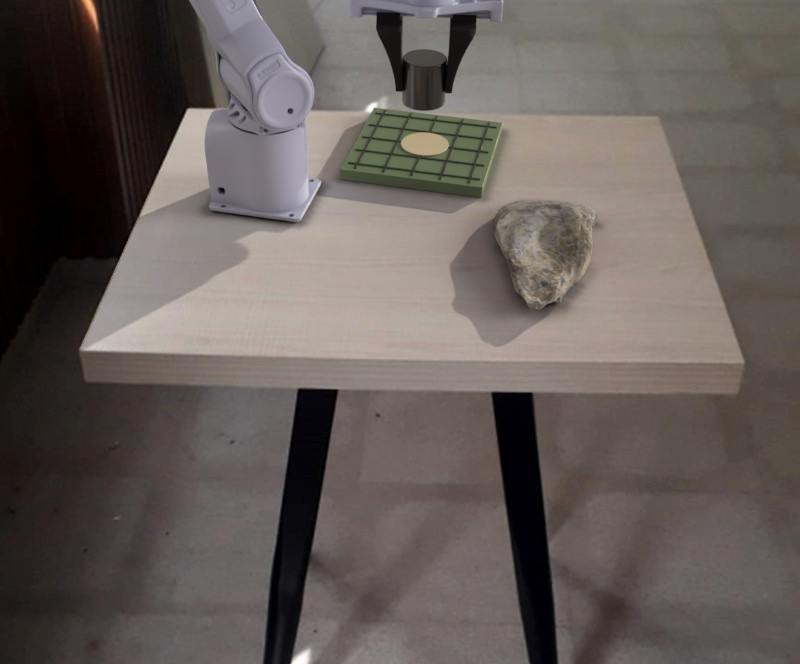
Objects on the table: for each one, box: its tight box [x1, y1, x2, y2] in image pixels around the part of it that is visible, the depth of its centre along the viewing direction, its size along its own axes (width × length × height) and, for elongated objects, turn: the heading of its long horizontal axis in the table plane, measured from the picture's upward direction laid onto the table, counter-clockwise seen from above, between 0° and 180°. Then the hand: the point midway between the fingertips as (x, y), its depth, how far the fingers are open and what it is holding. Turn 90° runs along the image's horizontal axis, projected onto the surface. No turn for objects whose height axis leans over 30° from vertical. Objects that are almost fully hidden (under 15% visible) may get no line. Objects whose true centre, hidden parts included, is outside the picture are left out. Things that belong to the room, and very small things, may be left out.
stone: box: [492, 200, 598, 311], centre depth 89 cm, size 20×4×10 cm
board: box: [339, 107, 504, 198], centre depth 104 cm, size 15×15×1 cm
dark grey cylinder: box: [401, 48, 448, 112], centre depth 97 cm, size 4×4×5 cm
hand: (423, 88), depth 97 cm, fingers closed on dark grey cylinder, 4 cm apart
